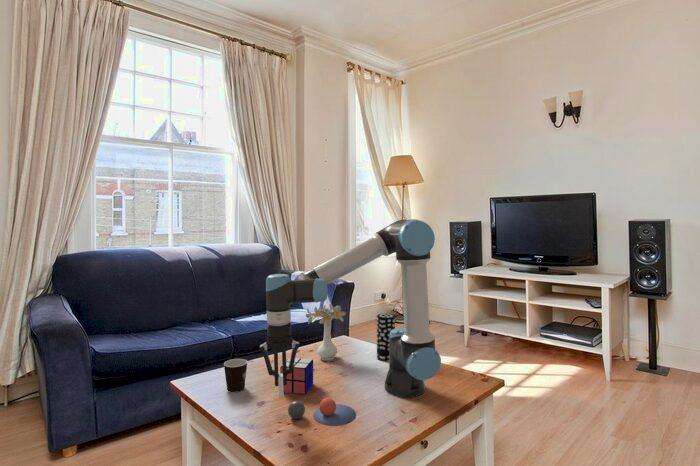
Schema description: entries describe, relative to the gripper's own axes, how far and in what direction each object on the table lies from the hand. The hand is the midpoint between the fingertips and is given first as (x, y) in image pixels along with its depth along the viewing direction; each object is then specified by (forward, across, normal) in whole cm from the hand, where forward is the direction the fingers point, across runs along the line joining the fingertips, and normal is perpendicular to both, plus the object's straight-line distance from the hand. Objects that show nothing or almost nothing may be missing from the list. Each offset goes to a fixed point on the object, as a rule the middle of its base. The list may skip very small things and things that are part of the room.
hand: (281, 394), depth 129 cm
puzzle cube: (+9, +6, +23) cm, 25 cm away
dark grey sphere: (+5, +5, 0) cm, 7 cm away
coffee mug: (+8, -18, +26) cm, 32 cm away
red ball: (+6, +15, 0) cm, 16 cm away
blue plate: (+8, +17, 0) cm, 19 cm away
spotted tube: (+9, +48, +48) cm, 69 cm away
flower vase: (+9, +21, +53) cm, 57 cm away
